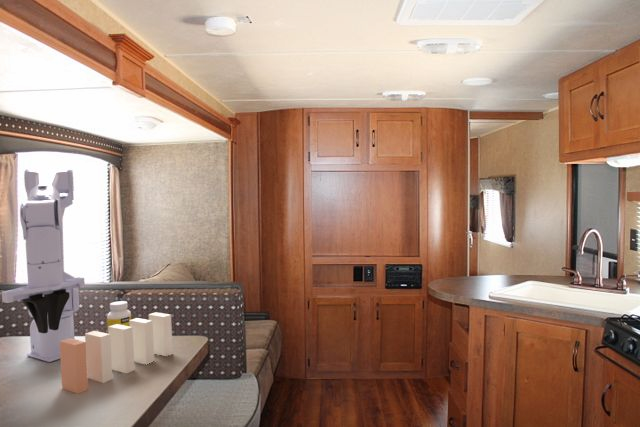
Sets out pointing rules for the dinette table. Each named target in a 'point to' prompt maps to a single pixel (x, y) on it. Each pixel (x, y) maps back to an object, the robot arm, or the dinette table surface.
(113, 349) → the domino
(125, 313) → the supplement bottle
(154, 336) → the domino
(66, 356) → the terracotta domino
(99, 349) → the domino
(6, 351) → the dinette table surface
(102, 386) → the dinette table surface
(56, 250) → the robot arm
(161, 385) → the dinette table surface
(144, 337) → the domino
